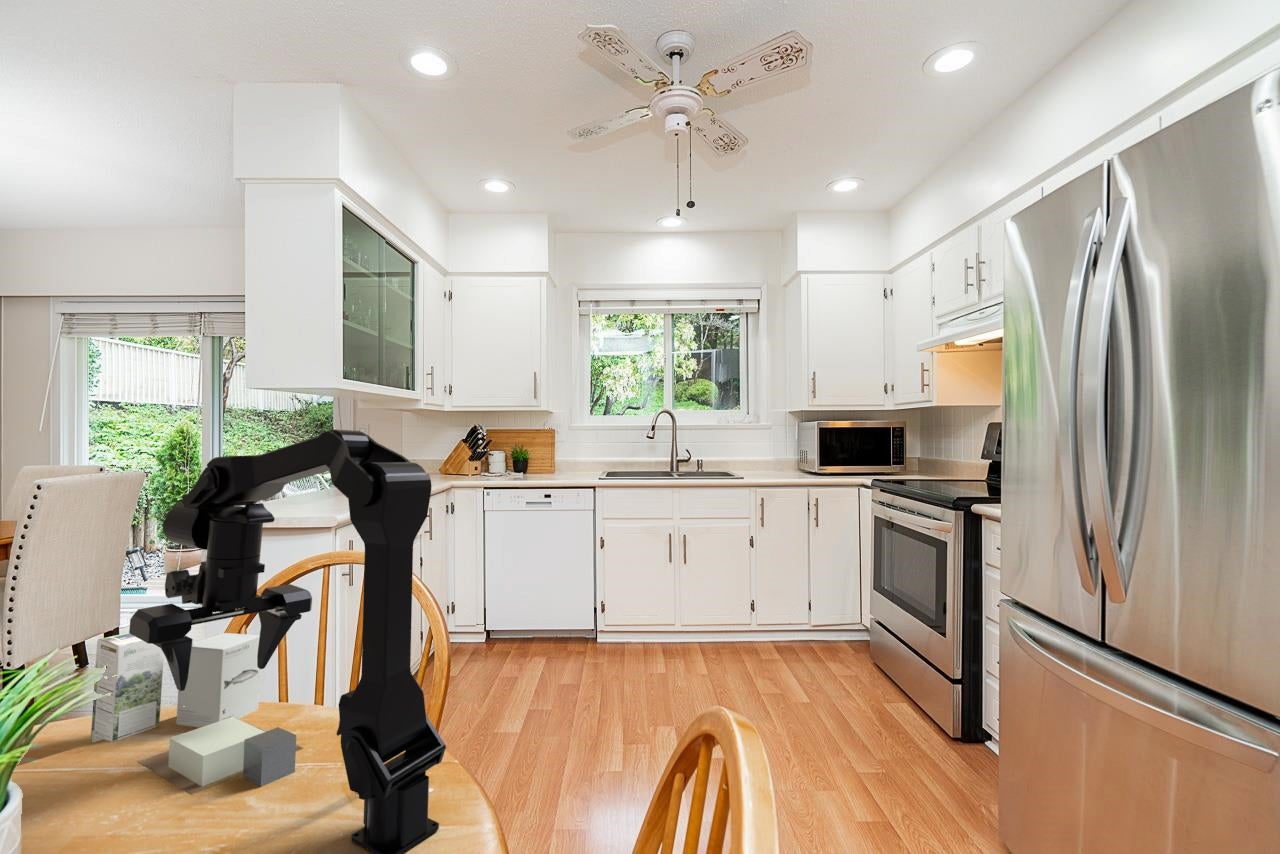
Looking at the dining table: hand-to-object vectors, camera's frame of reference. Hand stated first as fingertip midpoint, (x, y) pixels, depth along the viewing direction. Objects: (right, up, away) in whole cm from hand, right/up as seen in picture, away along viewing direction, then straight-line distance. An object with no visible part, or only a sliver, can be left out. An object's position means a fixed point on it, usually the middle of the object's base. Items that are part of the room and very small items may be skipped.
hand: (222, 678), depth 77 cm
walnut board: (-1, -12, +2) cm, 12 cm away
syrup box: (-19, -12, +8) cm, 24 cm away
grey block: (+8, -12, -3) cm, 15 cm away
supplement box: (-10, -13, +13) cm, 20 cm away
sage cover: (0, -10, -1) cm, 10 cm away
